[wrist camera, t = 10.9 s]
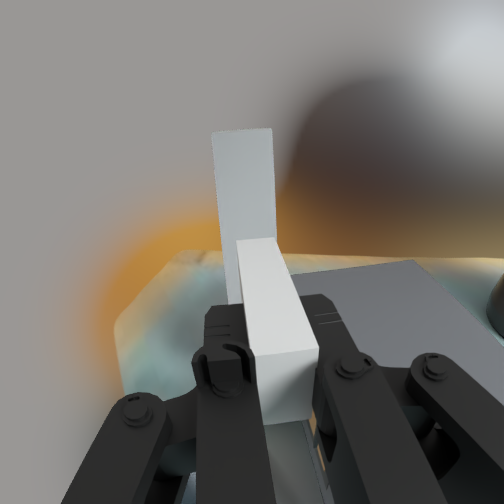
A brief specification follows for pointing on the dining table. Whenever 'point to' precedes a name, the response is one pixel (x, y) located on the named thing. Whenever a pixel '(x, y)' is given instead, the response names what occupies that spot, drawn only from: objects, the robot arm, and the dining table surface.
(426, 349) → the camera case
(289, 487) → the dining table surface
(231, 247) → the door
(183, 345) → the dining table surface
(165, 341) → the dining table surface
